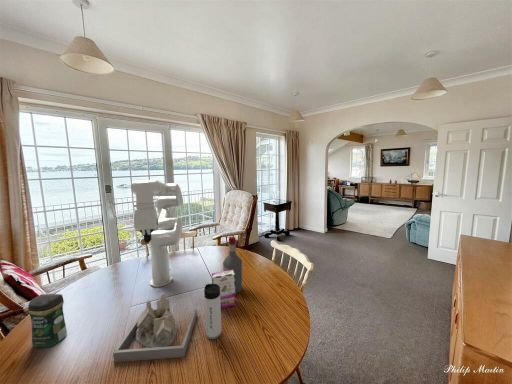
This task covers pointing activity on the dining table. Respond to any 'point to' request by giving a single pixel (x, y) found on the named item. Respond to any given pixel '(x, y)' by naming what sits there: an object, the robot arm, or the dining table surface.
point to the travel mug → (212, 311)
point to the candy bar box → (226, 287)
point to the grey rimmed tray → (151, 353)
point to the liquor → (234, 264)
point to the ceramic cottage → (156, 325)
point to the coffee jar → (47, 320)
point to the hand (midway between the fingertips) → (147, 241)
